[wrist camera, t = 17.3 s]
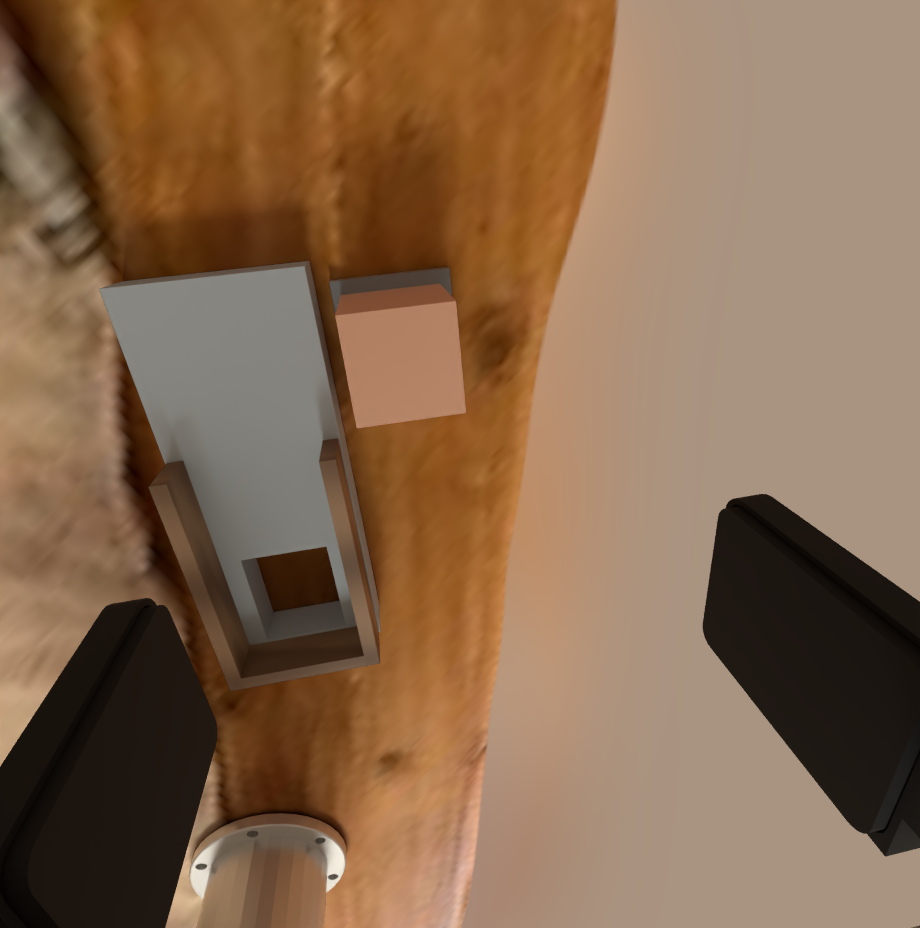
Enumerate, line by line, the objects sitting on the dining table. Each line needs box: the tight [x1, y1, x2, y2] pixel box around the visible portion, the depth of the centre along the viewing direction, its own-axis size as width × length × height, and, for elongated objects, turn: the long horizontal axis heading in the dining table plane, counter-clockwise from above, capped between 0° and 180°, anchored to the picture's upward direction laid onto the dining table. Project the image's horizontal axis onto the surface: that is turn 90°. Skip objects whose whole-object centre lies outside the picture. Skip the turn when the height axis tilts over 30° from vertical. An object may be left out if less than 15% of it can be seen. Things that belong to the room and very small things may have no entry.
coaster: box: [329, 267, 452, 314], centre depth 28 cm, size 6×6×1 cm
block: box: [335, 284, 466, 428], centre depth 26 cm, size 5×5×6 cm
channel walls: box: [149, 438, 380, 691], centre depth 29 cm, size 14×9×3 cm, turn 5°
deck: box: [99, 261, 380, 645], centre depth 30 cm, size 22×9×2 cm, turn 5°
